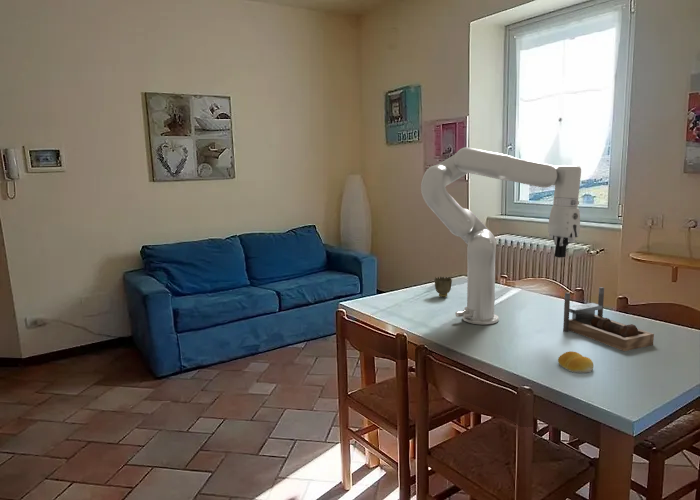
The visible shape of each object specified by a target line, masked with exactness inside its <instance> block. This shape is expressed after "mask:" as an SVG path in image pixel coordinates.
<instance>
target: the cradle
mask: <svg viewBox="0 0 700 500" xmlns="http://www.w3.org/2000/svg"><path fill="white" fill-rule="evenodd" d="M604 296H605V287H603V286H602V287H601V286H599V287H598V297H597V298H598V300H597V302H598V303H597V304H599V305H602V309H599V310H597V314H595V318H599V319H601V318H604V317H603V316H604V315H603V313H604V299H605V297H604ZM570 304H571V292H564V306H563V324H562V325H563V326H562V327H563V328H562V329H563V332H564V333H567V332H569V331H570V332H573V333H575V334H578V335H580V336H583V337H586V338H588V339H591V340H594V341H596V342H598V343H601V344H605V345H606V346H609V347H611V348H612V347H613V348H614V349H617V350H620V351H623V352H628V351H632V350H638V349H641V348H646V347H650V346H654V340H655V339H654V336H655V333H652V332H650V331H646V330H644V329H640V328H637V329H638V335H635V336H630V337H626V338H624V337H622V336H619V335H617V334H614V333H611V332H607V331H604V330H601V329H598V328H596V327H593V326H592V325H591V324H584V323H581V322H578V321H576V320H573V319H572V318H570V312H569V308H570V306H571V305H570ZM610 320H611V322H612V323H616V324H619V325H622V326H624V325H626V324H624V323H621V322H618V321H615V320H612V319H610Z"/></svg>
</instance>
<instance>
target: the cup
mask: <svg viewBox="0 0 700 500" xmlns="http://www.w3.org/2000/svg"><path fill="white" fill-rule="evenodd" d="M433 280H434V281H433V282H434V288H435V289H434V290H435V291H436V293H438V296H439V298H447V297H448V294H449V293H450V292H451V290H452V282H453V278H451V277H450V276H448V277H447V276H445V277H444V276H438V277H436V276H435V277H434V278H433Z"/></svg>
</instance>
